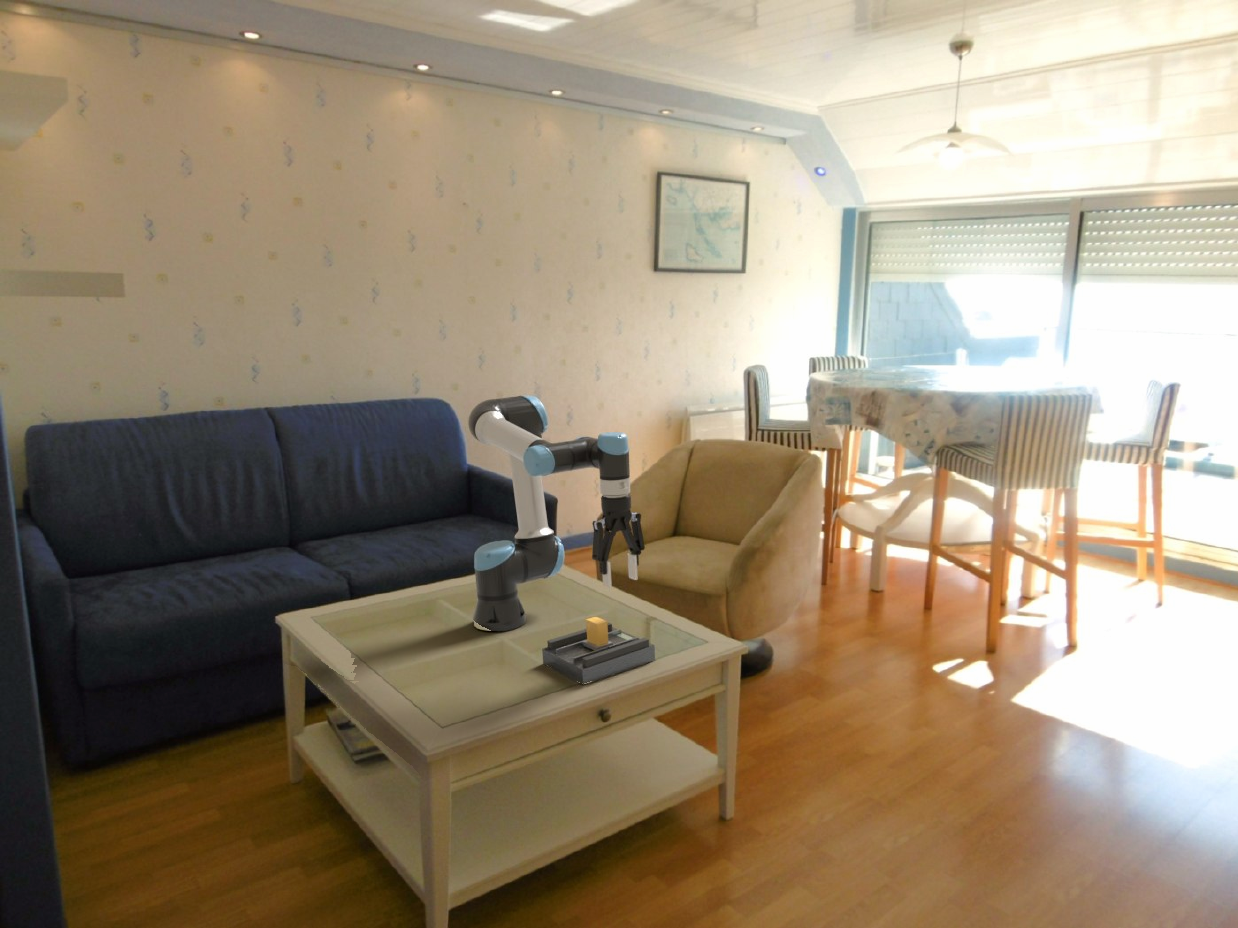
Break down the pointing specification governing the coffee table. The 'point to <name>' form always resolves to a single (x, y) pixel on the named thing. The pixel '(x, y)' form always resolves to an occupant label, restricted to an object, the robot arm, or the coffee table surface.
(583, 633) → the pair of guide rails
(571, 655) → the grey rail base
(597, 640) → the handle
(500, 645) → the coffee table surface
